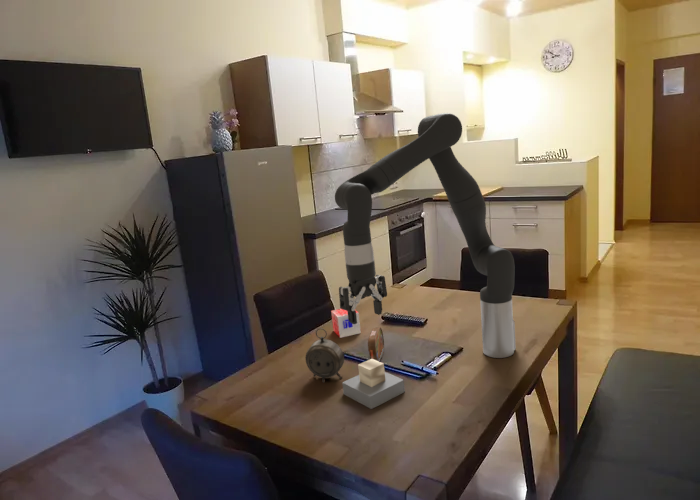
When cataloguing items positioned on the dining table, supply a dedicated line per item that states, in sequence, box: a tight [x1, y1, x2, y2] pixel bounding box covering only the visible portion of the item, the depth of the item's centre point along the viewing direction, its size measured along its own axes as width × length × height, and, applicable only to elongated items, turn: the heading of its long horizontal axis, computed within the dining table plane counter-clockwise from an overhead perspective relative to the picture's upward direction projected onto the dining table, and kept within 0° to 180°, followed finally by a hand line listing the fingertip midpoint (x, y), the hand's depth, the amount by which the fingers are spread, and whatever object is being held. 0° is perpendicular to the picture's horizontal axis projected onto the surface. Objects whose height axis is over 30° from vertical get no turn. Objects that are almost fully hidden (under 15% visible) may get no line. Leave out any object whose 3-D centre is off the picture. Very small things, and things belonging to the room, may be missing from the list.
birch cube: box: [357, 358, 386, 387], centre depth 143 cm, size 5×5×5 cm
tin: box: [367, 326, 385, 361], centre depth 166 cm, size 15×3×8 cm, turn 168°
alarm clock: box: [305, 327, 345, 383], centre depth 153 cm, size 11×5×16 cm, turn 71°
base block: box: [342, 371, 406, 410], centre depth 144 cm, size 12×12×4 cm
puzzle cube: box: [330, 308, 362, 338], centre depth 190 cm, size 8×8×8 cm
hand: (366, 318), depth 139 cm, fingers open, 8 cm apart
